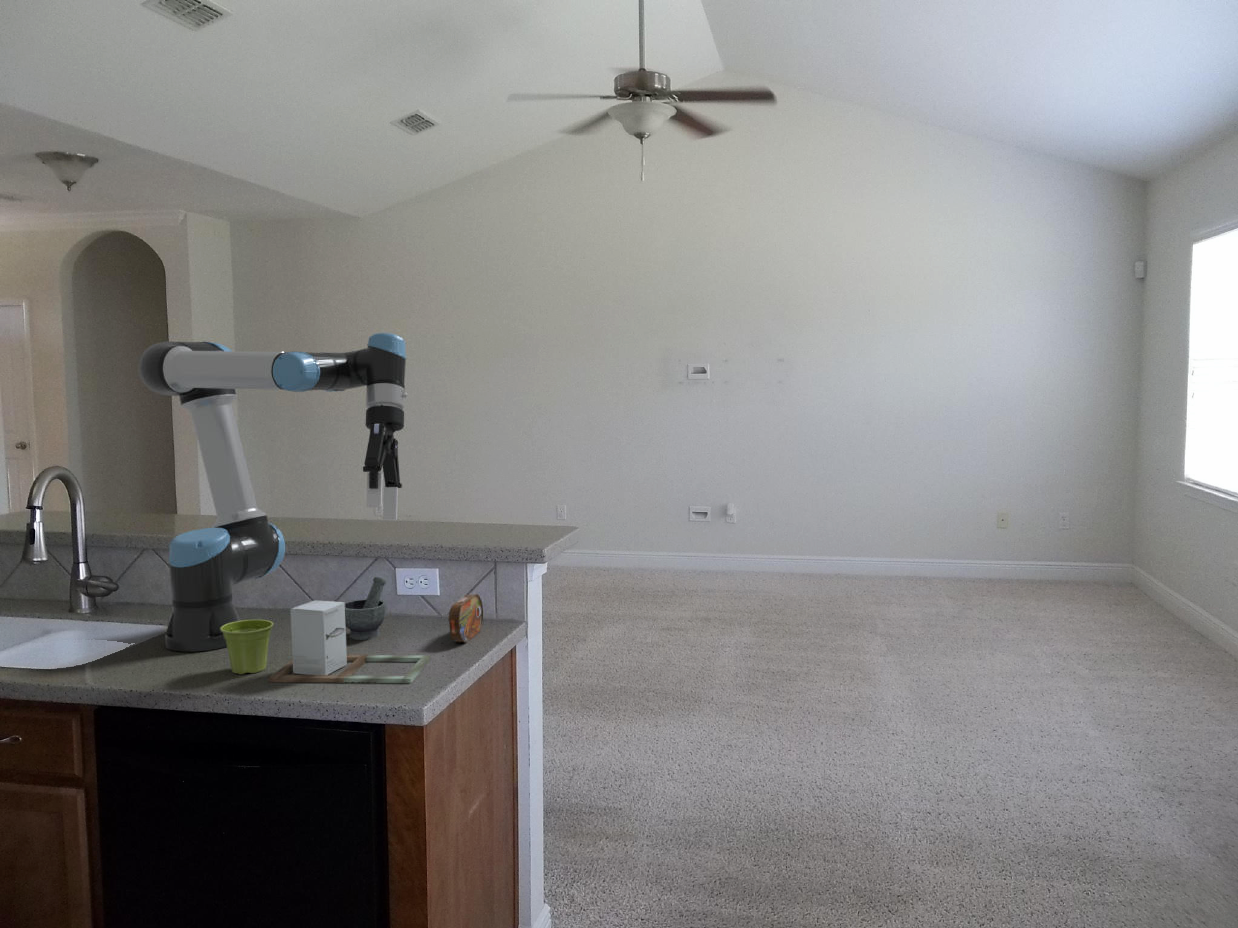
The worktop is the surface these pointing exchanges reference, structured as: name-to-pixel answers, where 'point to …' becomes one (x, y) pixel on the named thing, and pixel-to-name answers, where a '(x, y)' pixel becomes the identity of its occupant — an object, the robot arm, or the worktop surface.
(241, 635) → the plant pot
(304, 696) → the worktop surface
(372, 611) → the mortar and pestle
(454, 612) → the tin
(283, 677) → the metal double frame
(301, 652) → the supplement box
